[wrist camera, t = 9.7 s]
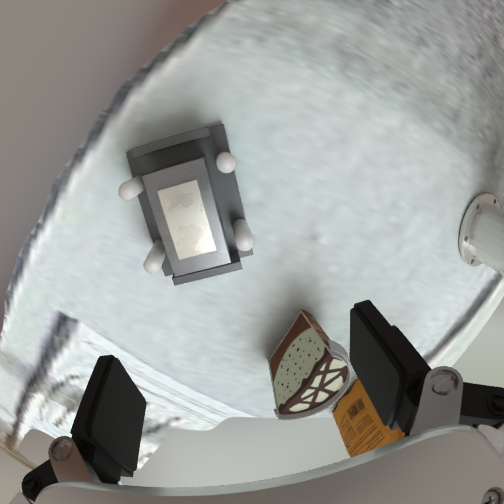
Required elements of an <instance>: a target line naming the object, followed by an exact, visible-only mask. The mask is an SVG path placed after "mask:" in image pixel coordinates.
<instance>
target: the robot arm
mask: <svg viewBox="0 0 504 504" xmlns="http://www.w3.org/2000/svg"><path fill="white" fill-rule="evenodd" d="M459 248H460V254H461V257H462V259H463V260H464V261H465V262H466V263H467V264H469V265H470V266H478V265H480V264H482V263H484V264H486V265H487V266H489V267H491V268H492V269H494V270H495V271H497V272H498V273H500V274H501V275H503V276H504V209H501V206H500V203H499V201H498V199H497V198H496V197H495V196H494V195H491V194H488V193H484V194H481V195H479V196H477V197H476V198H475V199H474V200H473V202H472V203H471V204H470V206H469V208H468V209H467V211H466V214H465V216H464V219H463V222H462V225H461V230H460V237H459ZM350 362H351V365H352V367H353V369H354V370H355V372H356V374H357V376H358V378H359V380H360V381H361V383H362V385H363V387H364V389H365V391H366V393H367V395H368V396H369V398H370V400H371V402H372V404H373V406H374V408H375V410H376V412H377V414H378V415H379V417H380V419H381V421H382V423H383V425H384V426H389V428H390V429H391V431H393V430H395V429H397V428H399V427H400V429H401V431H402V432H404V436H403V438H402V439H399V440H397V441H394V442H392V443H389V444H386V445H384V446H381V447H379V448H376V449H374V450H371V451H368V452H366V453H363V454H360V455H357V456H354V457H351V458H348V459H345V460H342V461H340V462H336V463H333V464H330V465H327V466H323V467H319V468H316V469H312V470H308V471H304V472H300V473H296V474H291V475H286V476H282V477H277V478H272V479H266V480H260V481H254V482H247V483H239V484H230V485H220V486H208V487H180V488H165V487H164V488H163V487H141V486H140V487H139V486H127V485H123V484H122V482H121V481H120V476H125V477H133V472H134V471H135V470H136V469H137V462H138V455H139V448H140V441H141V435H142V428H143V422H144V416H145V411H146V400H145V398H144V397H143V395H142V394H141V392H140V391H139V390H138V388H137V387H136V385H135V384H134V382H133V381H132V379H131V378H130V376H129V375H128V373H127V372H126V370H125V368H124V367H123V365H122V364H121V362H120V360H119V359H118V358H115V357H114V356H113V355H105V356H100V357H99V358H98V360H97V363H96V365H95V367H94V370H93V372H92V375H91V377H90V380H89V382H88V385H87V387H86V390H85V392H84V395H83V398H82V400H81V403H80V406H79V408H78V411H77V414H76V417H75V420H74V423H73V426H72V429H71V432H70V433H71V434H72V438H70V437H68V436H61V437H58V438H56V439H55V440H54V441H53V442H52V443H51V445H50V447H49V451H48V454H49V460H47V461H46V462H44V463H43V464H41V465H40V466H38V467H37V468H35V469H34V470H32V471H31V472H29V473H28V474H27V475H26V476H25V477H24V479H23V481H22V490H23V492H21V491H19V492H18V493H17V494H16V496H15V497H14V498H13V499H12V501H11V502H10V503H9V504H504V388H501V387H494V386H486V385H479V384H472V383H466V382H463V379H462V377H461V375H460V373H459V372H458V371H457V370H455V369H453V368H451V367H447V366H440V367H436V368H434V369H431V368H430V367H429V365H428V364H427V363H426V362H425V360H424V359H423V358H422V357H421V355H420V354H419V353H418V352H417V350H416V349H415V348H414V347H413V345H412V344H411V343H410V342H409V341H408V339H407V338H406V337H405V336H404V334H403V333H402V332H401V331H400V330H399V328H397V327H396V326H394V325H393V326H391V325H390V324H389V323H388V322H387V320H386V319H385V318H384V317H383V315H382V314H381V313H380V312H379V311H378V310H377V308H376V307H375V306H374V305H373V304H372V302H371V301H370V300H365V301H362V302H359V303H356V304H354V308H352V309H351V310H350Z"/></svg>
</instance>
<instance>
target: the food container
mask: <svg viewBox="0 0 504 504" xmlns="http://www.w3.org/2000/svg"><path fill="white" fill-rule="evenodd" d="M268 364H269V370H270V375H271V381H272V387H273V392H274V398H275V404H276V409H274V412H275V414H276V417H278V419H279V420H295V419H301V418H305V417H308V416H311V415H314V414H316V413H319V412H321V411H323V410H324V409H326V408H328V407H329V406H331V405H332V404H333V403H335V402H336V401H337V400H338V399H339V398H340V397H341V396H342V395H343V394H344V393H345V391H346V390H347V388H348V386H349V384H350V380H351V365H350V361H349V357H348V354H347V352H346V350H345V349H344V348H343V347H342V346H341V345H340V344H338V343H336V342H335V341H332V340H330V339H329V337H328V336H327V335H326V333H325V332H324V331H323V329H322V328H321V327H320V325H319V324H318V323H317V321H316V320H315V319H314V317H313V316H311V315H310V314H309V313H307V312H306V311H303V310H300V312H299V314H298V315H297V317H296V318H295V320H294V321H293V323H292V325H291V326H290V328H289V329H288V331H287V332H286V334H285V336H284V337H283V339H282V340H281V342H280V343H279V345H278V346H277V348H276V349H275V351H274V352H273V354H272V355H271V357H270V358H269V360H268Z"/></svg>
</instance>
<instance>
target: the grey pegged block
mask: <svg viewBox="0 0 504 504" xmlns="http://www.w3.org/2000/svg"><path fill="white" fill-rule="evenodd" d="M126 154H127V158H128V161H129V165H130V169H131V173H132V176H133V178H132V179H130V180H128V181H127V182H125V183H123V184H121V186H120V187H119V196H120V197H121V199H123V200H125V201H130V200H132V199H133V198H135V197H136V196H137V195H138V197H139V200H140V204H141V207H142V210H143V213H144V216H145V220H146V223H147V226H148V229H149V232H150V235H151V238H152V241H153V246H152V248H151V250H150V252H149V254H148V256H147V258H146V260H145V262H144V269H145V270H146V271H147V272H148V273H150V274H156V273H158V272H159V271H160V269H161V266H162V269H163V272H164V274H165V276H168V275H172V274H173V277H172V280H173V283H174V285H179V284H183V283H187V282H192V281H196V280H200V279H204V278H208V277H212V276H216V275H220V274H224V273H228V272H233V271H237V270H241V269H242V265H241V261H240V258H241V257H245V256H249V255H253V251H252V247H253V246H254V238H253V236H252V234H251V231H250V229H249V226H248V224H247V222H246V220H245V216H244V211H243V207H242V203H241V198H240V194H239V190H238V185H237V181H236V176H235V172H234V169H235V168H236V165H237V162H236V159H235V157H234V156H233V155H231V154H230V150H229V146H228V141H227V137H226V133H225V128H224V124H221V125H217V126H213V127H209V128H208V127H206V128H202V129H198V130H194V131H190V132H186V133H183V134H179V135H176V136H172V137H169V138H165V139H162V140H159V141H156V142H152V143H149V144H146V145H143V146H140V147H137V148H134V149H132V150H131V151H128V152H126ZM202 155H205V156H206V160H207V164H208V168H209V172H210V176H211V179H212V183H213V187H214V191H215V195H216V199H217V203H218V206H219V210H220V214H221V218H222V222H223V225H224V229H225V233H226V237H227V241H228V248H229V254H230V260H231V263H227V264H223V265H219V266H215V267H212V268H208V269H204V270H200V271H196V272H192V273H188V274H184V275H180V276H176V277H175V275H174V272H173V269H172V267H171V264H170V261H169V258H168V255H167V253H166V250H165V247H164V244H163V241H162V238H161V235H160V232H159V229H158V226H157V223H156V220H155V217H154V214H153V211H152V207H151V204H150V201H149V198H148V194H147V191H146V188H145V184H144V181H143V177H142V176H144V175H145V174H147V173H149V172H151V171H153V170H155V169H158V168H161V167H164V166H167V165H170V164H174V163H177V162H181V161H184V160H188V159H191V158H195V157H198V156H202Z"/></svg>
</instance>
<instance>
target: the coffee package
mask: <svg viewBox="0 0 504 504" xmlns="http://www.w3.org/2000/svg"><path fill="white" fill-rule="evenodd" d="M333 416H334V418H335V421H336V424H337V426H338V428H339V431H340V434H341V436H342V439H343V441H344V444H345V447H346V449H347V452H348V454H349V455H350V457H354V456H357V455H360V454H363V453H366V452H368V451H371V450H374V449H376V448H379V447H381V446H384V445H386V444H389V443H392V442H394V441H397V440H399V439H402V438H403V436H404V432H402V431H401V429H400V427H399V428H397V429H395V430H393V431H391V429H390V428H389V426H384V425H383V423H382V421H381V419H380V417H379V415H378V414H377V412H376V410H375V408H374V406H373V404H372V402H371V400H370V398H369V396H368V395H367V393H366V391H365V389H364V387H363V385H362V383H361V381H360V380H359V378H358V379H357V380H356V381H355V383H354V385H353V387H352V389H351V391H350V392H349V393H348V394H346V395H345V396H343V397H342V398H341V399H340V401H339V403H338V406H337V408H336V410H335V411H334V413H333Z"/></svg>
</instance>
